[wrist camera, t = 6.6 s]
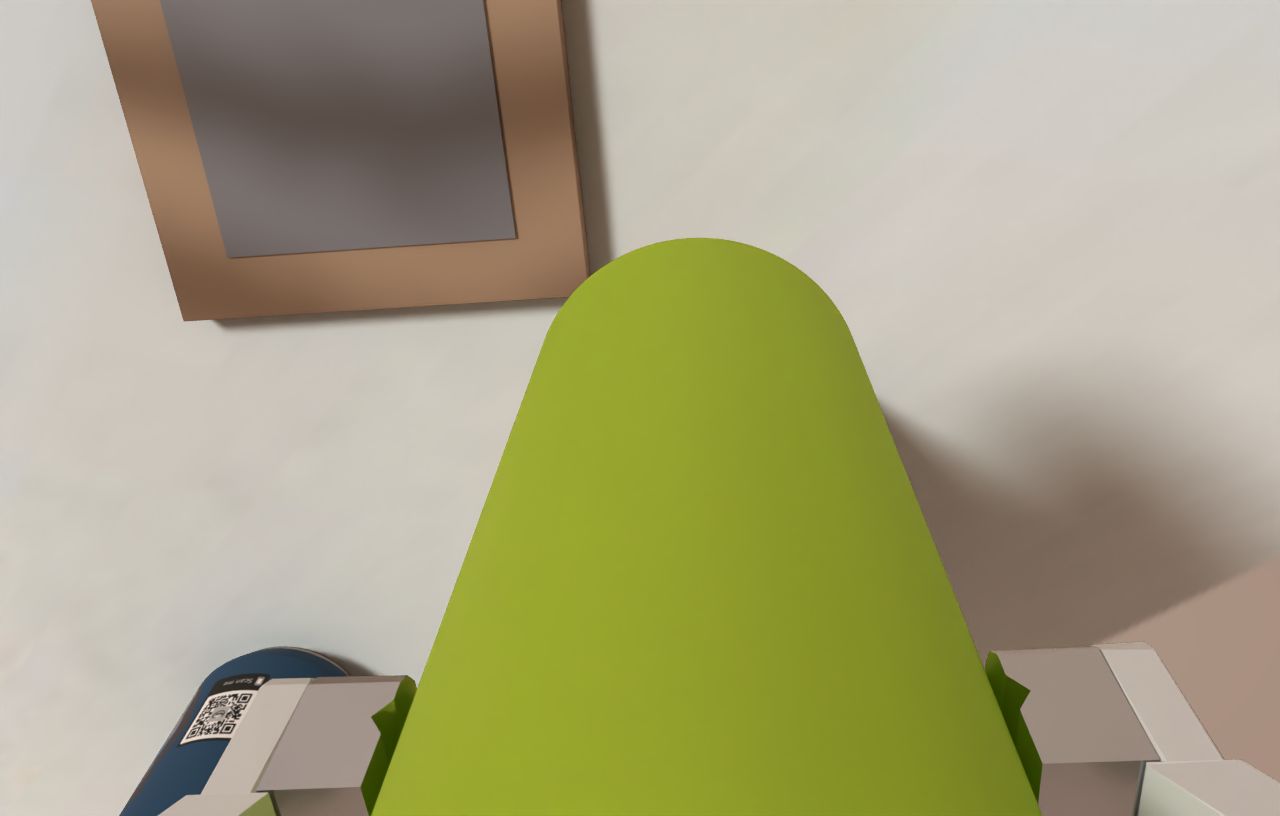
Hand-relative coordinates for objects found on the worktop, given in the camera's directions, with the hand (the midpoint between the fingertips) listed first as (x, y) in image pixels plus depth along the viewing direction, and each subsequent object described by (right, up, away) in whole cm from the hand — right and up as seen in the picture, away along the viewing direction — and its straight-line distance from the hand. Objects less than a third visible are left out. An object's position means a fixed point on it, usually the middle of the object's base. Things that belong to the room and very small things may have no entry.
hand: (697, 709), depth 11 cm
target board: (-9, +13, +20) cm, 25 cm away
